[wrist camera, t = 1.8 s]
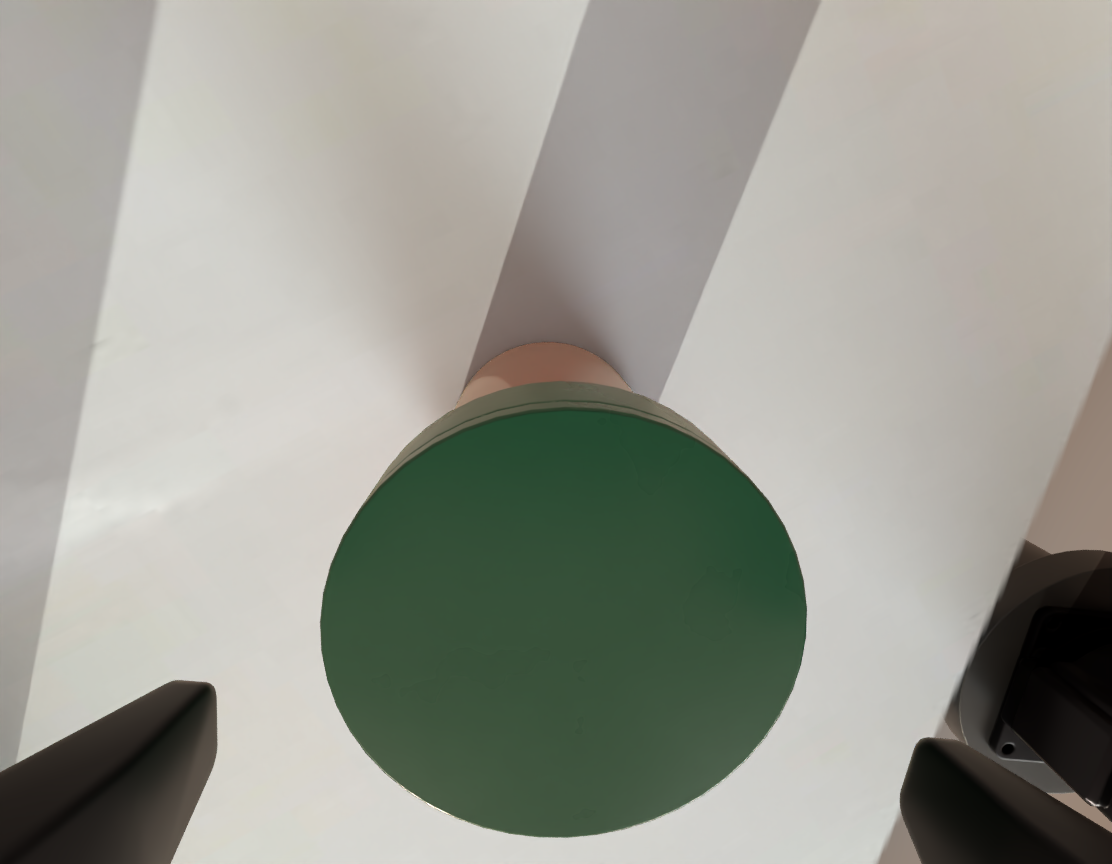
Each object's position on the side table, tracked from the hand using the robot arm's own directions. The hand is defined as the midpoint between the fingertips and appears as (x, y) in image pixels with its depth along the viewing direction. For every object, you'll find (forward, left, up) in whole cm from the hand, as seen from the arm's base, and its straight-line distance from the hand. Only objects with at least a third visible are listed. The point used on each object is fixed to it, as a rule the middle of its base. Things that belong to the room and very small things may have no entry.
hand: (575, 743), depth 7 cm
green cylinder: (0, 0, -2) cm, 2 cm away
